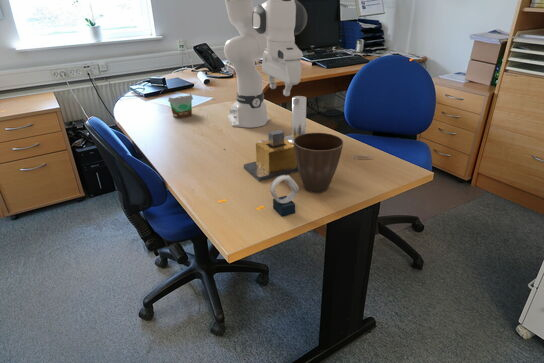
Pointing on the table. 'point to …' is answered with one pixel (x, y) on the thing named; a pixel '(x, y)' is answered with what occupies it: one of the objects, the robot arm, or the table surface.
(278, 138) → the grey square rod
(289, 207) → the watch
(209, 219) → the table surface
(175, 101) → the food container
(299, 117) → the gold block fixture
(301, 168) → the plant pot
